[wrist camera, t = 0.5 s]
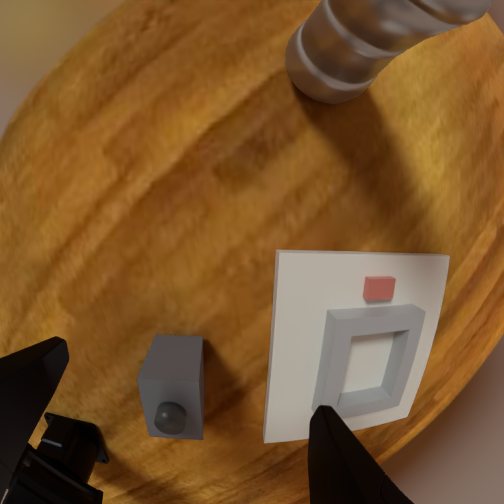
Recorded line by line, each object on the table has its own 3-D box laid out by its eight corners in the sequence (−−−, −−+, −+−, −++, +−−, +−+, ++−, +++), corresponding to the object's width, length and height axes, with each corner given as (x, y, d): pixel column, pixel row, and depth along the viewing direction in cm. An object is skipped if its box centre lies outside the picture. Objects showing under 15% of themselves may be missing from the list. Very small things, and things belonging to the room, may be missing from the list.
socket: (402, 410, 26) (415, 426, 23) (262, 435, 24) (267, 457, 21) (441, 253, 23) (464, 260, 20) (276, 249, 21) (285, 258, 18)
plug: (205, 385, 22) (202, 452, 15) (162, 383, 22) (146, 448, 14) (203, 332, 21) (197, 394, 14) (157, 331, 21) (132, 389, 13)
